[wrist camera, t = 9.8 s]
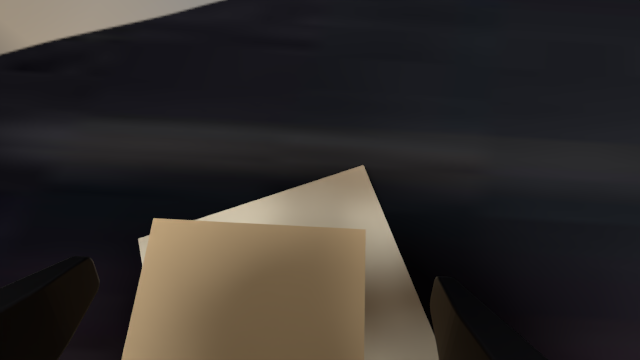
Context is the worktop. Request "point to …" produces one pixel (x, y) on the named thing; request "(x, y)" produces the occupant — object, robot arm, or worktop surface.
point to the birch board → (380, 257)
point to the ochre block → (249, 293)
